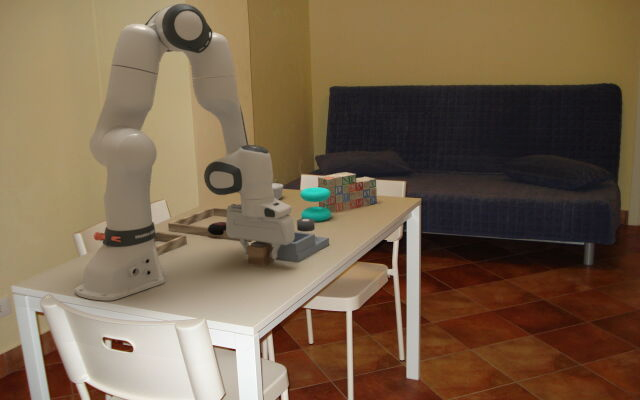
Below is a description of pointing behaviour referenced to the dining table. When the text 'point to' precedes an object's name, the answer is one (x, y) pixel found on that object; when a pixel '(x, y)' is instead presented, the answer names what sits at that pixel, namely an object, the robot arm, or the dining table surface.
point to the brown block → (259, 253)
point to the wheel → (305, 225)
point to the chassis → (302, 247)
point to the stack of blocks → (347, 191)
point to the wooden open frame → (184, 226)
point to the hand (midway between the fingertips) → (260, 256)
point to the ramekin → (277, 190)
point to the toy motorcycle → (217, 228)
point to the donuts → (315, 196)
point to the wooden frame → (169, 241)
